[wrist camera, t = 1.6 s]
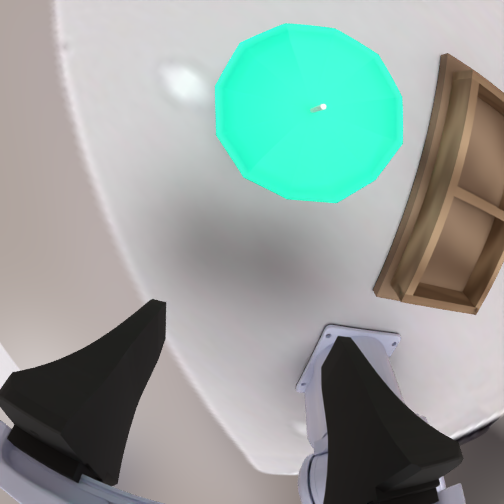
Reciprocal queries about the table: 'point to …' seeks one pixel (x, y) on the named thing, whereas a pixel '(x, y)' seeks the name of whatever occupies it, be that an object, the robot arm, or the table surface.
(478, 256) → the divided wooden tray
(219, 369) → the table surface
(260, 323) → the table surface
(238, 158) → the candle
